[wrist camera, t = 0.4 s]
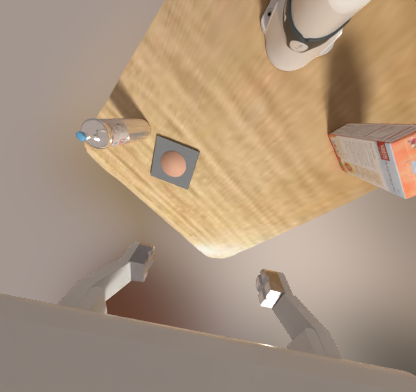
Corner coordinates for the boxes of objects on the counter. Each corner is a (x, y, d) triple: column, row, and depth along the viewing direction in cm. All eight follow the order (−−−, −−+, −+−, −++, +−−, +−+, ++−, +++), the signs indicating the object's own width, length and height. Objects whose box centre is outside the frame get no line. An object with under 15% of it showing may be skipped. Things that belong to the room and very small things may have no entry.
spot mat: (158, 135, 54) (156, 135, 53) (199, 151, 54) (199, 152, 53) (151, 174, 61) (150, 175, 60) (188, 188, 62) (187, 189, 61)
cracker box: (363, 160, 48) (443, 187, 29) (341, 170, 50) (404, 201, 32) (349, 121, 43) (434, 123, 25) (326, 134, 46) (388, 144, 27)
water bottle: (150, 119, 52) (89, 119, 30) (152, 139, 55) (98, 154, 33) (132, 117, 52) (58, 117, 30) (135, 138, 55) (71, 151, 34)
